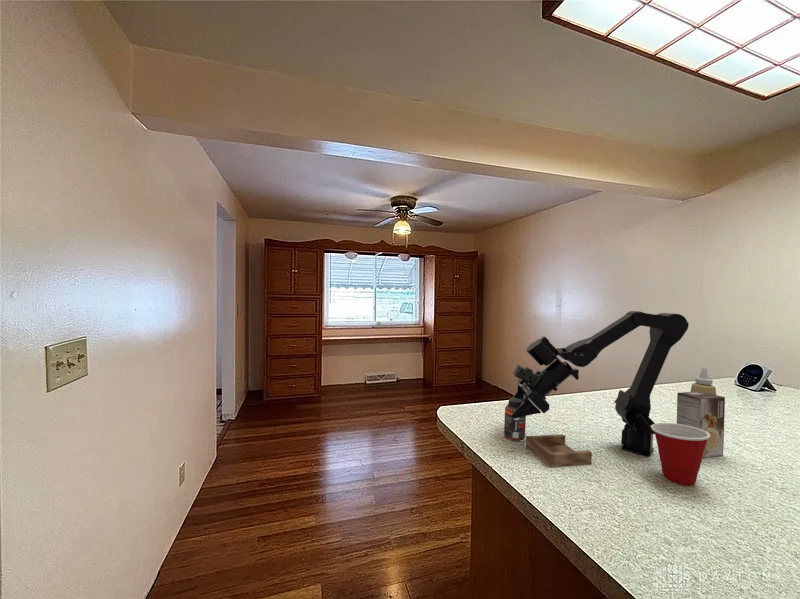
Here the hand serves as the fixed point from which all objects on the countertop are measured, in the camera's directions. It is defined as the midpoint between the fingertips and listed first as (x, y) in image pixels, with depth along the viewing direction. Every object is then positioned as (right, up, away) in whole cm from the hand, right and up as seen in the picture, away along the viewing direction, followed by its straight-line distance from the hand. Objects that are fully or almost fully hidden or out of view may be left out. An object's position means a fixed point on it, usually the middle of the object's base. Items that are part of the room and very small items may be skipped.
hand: (510, 411), depth 102 cm
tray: (+9, -8, -11) cm, 16 cm away
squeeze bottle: (+76, -10, +22) cm, 80 cm away
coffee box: (+51, -9, -6) cm, 52 cm away
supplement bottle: (+1, -8, 0) cm, 8 cm away
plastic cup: (+32, -9, -21) cm, 40 cm away
